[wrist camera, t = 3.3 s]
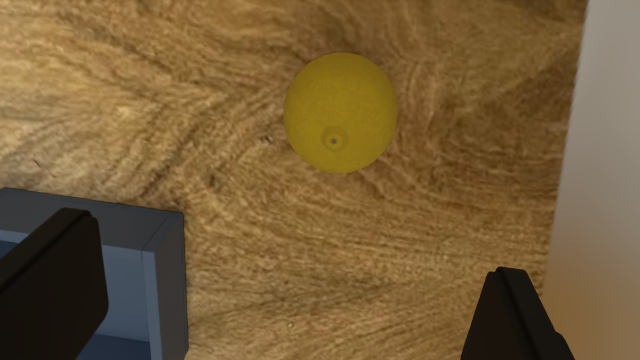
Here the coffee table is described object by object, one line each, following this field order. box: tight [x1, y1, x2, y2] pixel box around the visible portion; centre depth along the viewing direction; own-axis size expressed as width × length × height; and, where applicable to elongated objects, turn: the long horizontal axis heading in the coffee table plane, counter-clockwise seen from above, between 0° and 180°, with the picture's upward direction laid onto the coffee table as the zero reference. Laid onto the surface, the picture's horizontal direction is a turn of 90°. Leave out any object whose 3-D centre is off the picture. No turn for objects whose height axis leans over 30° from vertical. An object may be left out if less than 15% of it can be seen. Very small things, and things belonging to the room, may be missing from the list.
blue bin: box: [0, 187, 188, 360], centre depth 33 cm, size 13×13×5 cm
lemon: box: [284, 52, 398, 174], centre depth 23 cm, size 6×6×8 cm
